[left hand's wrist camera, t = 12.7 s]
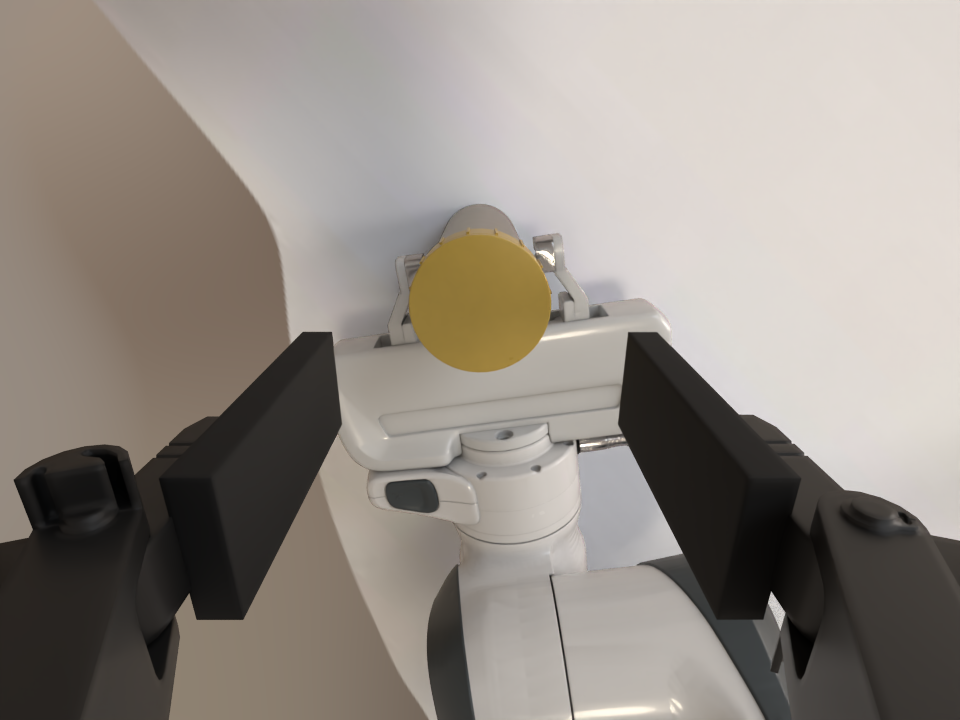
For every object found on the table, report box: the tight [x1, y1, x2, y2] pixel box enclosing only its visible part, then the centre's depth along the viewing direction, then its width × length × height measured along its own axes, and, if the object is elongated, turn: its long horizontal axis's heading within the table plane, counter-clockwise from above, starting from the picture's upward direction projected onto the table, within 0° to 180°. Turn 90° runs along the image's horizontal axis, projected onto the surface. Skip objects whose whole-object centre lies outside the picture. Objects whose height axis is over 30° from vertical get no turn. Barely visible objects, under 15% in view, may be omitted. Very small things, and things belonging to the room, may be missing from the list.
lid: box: [409, 227, 552, 372], centre depth 21 cm, size 6×6×2 cm
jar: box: [439, 204, 520, 242], centre depth 28 cm, size 5×5×16 cm
